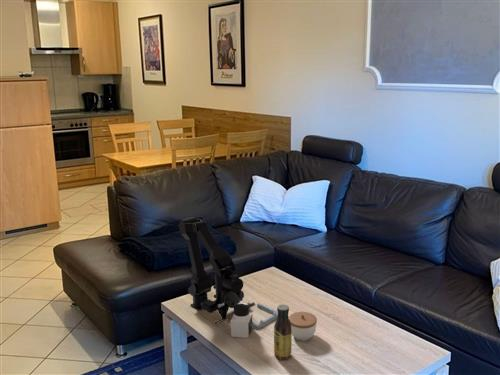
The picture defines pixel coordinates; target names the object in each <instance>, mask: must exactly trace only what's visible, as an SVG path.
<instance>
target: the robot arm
mask: <svg viewBox="0 0 500 375" xmlns="http://www.w3.org/2000/svg"><path fill="white" fill-rule="evenodd" d="M178 229H179V231H180V234H181V236H182V237H183V238H184V239H185V240H186V244H187V249H188V253H189V257H190V263H191V267H192V276H191V278H190V282H191V285H190V286H189V287H188V288H187V291H188V295H190V296H192V303H191V304H190V307H192V308H194V309H196V310H198V311H201V310H203V311H205V312H206V313H209V314H212V313H214V312H218V313H219V315H220V318H222V319H225V318H226V315H227V313H229V312H228V310H229V309H234V305H235V304H237V303H241V302H242V301H243V299H244V298H245V294H244V291H243V288H244V282H243V280H242V279H241V278H240V276H239V274H236V273H235V272H237V268H236V265H235V263H234V261H233V258H232V256H231V255H230V254H229V253H228V251H227V250H226V248H225V249H224V248H223V247H221V246H220V245H219V244H218V242H217V240H216V238H214V236H213V234H212V232H211V231H210V230H209V228H208V226H207V222H206V221H204V220H202V219H200V218H197V217H195V216H192V217H188V218H187V217H186V218H184V219H181V220H180V221H179V223H178ZM199 239H200V241H201V242H202V244H203V246H204V247H205V249H206V251H207V253H208V254H209V262H210V264H211V266H212V269H211V271H212V272H213V273H214V283H215V284H214V285H213V280H212V276H211V274H210V273H208V272H207V270H206V269H205V266H204V262H203V257H202V252H201V247H200V243H199ZM212 287H213V289H214V290H215V294H214V295H213V298H214V300H211V299H209V297H208V293H210V292H212Z"/></svg>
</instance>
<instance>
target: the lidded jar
mask: <svg viewBox="0 0 500 375" xmlns="http://www.w3.org/2000/svg"><path fill="white" fill-rule="evenodd" d="M288 317H289V318H288V319H289V320H290V322H291V330H292V337H294V339H296V340H298V341H301V342H305V341H309V340H310V339H311V338H312V337H313V336H314V335H315V333H316V330H317V324H318V323H317V321H318V319H317V317H316V315H315V314H313V313H312V312H308V311H296V312H293V313H290V315H288Z"/></svg>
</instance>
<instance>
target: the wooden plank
mask: <svg viewBox="0 0 500 375" xmlns="http://www.w3.org/2000/svg"><path fill="white" fill-rule="evenodd" d="M246 304H248V305H249V309H251V306H250V304H251V302H247V303H246ZM233 315H234V309H233V310H232V311H229V312H227V315H226V318H225V321H228V320H229V319H230V320H231V319H232V317H233Z"/></svg>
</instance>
